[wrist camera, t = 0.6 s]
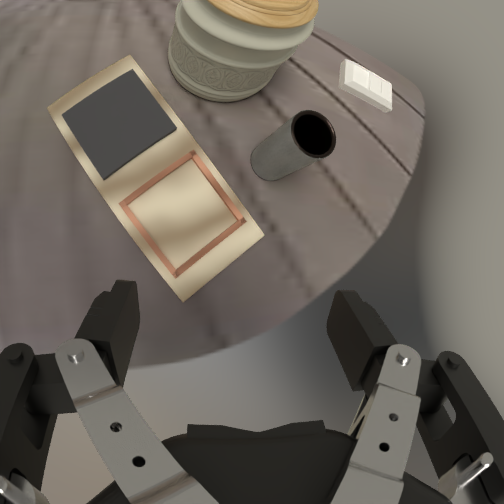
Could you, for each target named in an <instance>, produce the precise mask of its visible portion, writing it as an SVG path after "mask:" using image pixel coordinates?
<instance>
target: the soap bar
mask: <svg viewBox="0 0 504 504" xmlns="http://www.w3.org/2000/svg"><path fill="white" fill-rule="evenodd" d="M339 88H340V89H342V90H344V91H346V92H348V93H350V94H352V95H354V96H356V97H358V98H360V99H362V100H363V101H365V102H367V103H369V104H371V105H373V106H374V107H376V108H378V109H380V110H381V111H383V112H385V113H387V112H389V111H391V110H392V85H391V83H389V82H387V81H386V80H384V79H383V78H381V77H379V76H378V75H376V74H374V73H373V72H371V71H369V70H367V69H366V68H364V67H362V66H360V65H359V64H357V63H355V62H353V61H350V60H347V59H345V60H344V61H343V62H342V63H341V65H340V78H339Z"/></svg>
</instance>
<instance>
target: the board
mask: <svg viewBox="0 0 504 504" xmlns="http://www.w3.org/2000/svg"><path fill="white" fill-rule="evenodd" d="M131 69H133V70H134V71H135V73H136V74H137V75H138V77H139V78H140V79H141V80H142V82H143V83H144V84H145V86H146V87H147V88H148V90H149V91H150V92H151V94H152V95H153V96H154V98H155V99H156V100H157V102H158V103H159V104H160V106H161V107H162V108H163V110H164V111H165V112H166V114H167V115H168V116H169V118H170V119H171V120H172V122H173V123H174V124H175V126H176V127H177V129H176V131H174V132H173V133H171V134H170V135H168V136H167V137H165V138H163V139H162V140H160V141H159V142H157V143H156V144H154V145H153V146H151V147H150V148H148V149H147V150H146V151H144V152H143V153H141V154H140V155H138V156H137V157H136V158H134V159H133V160H131V161H130V162H129V163H127V164H126V165H124V166H123V167H122V168H120V169H119V170H118V171H116V172H115V173H114V174H112V175H111V176H110V177H108V178H107V179H106V180H103V179H102V177H101V176H100V174H99V173H98V171H97V170H96V168H95V167H94V165H93V164H92V162H91V161H90V159H89V158H88V156H87V155H86V153H85V152H84V150H83V149H82V147H81V146H80V144H79V142H78V141H77V139H76V138H75V136H74V135H73V133H72V131H71V130H70V128H69V127H68V125H67V123H66V122H65V120H64V118H63V117H62V114H63V113H64V112H66V111H67V110H68V109H70V108H71V107H73V106H74V105H75V104H77V103H78V102H80V101H81V100H83V99H84V98H86V97H87V96H89V95H90V94H92V93H93V92H95V91H96V90H98V89H99V88H101V87H103V86H104V85H106V84H107V83H109V82H111V81H112V80H114V79H116V78H117V77H119V76H121V75H122V74H124V73H126V72H128V71H129V70H131ZM47 109H48V111H49V113H50V115H51V116H52V118H53V120H54V122H55V123H56V125H57V127H58V128H59V130H60V132H61V133H62V135H63V137H64V138H65V140H66V141H67V143H68V145H69V146H70V148H71V149H72V151H73V153H74V154H75V156H76V157H77V159H78V161H79V162H80V164H81V165H82V167H83V168H84V170H85V171H86V173H87V174H88V176H89V177H90V179H91V180H92V182H93V183H94V185H95V186H96V188H97V189H98V191H99V192H100V194H101V195H102V197H103V198H104V199H105V201H106V202H107V204H108V205H109V207H110V208H111V209H112V211H113V212H114V214H115V215H116V216H117V218H118V219H119V221H120V222H121V223H122V225H123V226H124V227H125V229H126V230H127V232H128V233H129V234H130V236H131V237H132V238H133V240H134V241H135V242H136V244H137V245H138V246H139V248H140V249H141V250H142V252H143V253H144V254H145V256H146V257H147V258H148V259H149V261H150V262H151V263H152V265H153V266H154V267H155V268H156V270H157V271H158V272H159V273H160V275H161V276H162V277H163V278H164V280H165V281H166V282H167V283H168V285H169V286H170V287H171V288H172V290H173V291H174V292H175V293H176V295H177V296H178V297H179V298H180V299H181V301H182V302H184V301H185V300H187V299H188V298H189V297H190V296H192V295H193V294H194V293H195V292H196V291H198V290H199V289H200V288H201V287H202V286H204V285H205V284H206V283H207V282H208V281H210V280H211V279H212V278H213V277H215V276H216V275H217V274H218V273H219V272H221V271H222V270H223V269H224V268H225V267H227V266H228V265H229V264H230V263H232V262H233V261H234V260H235V259H236V258H238V257H239V256H240V255H241V254H242V253H244V252H245V251H246V250H247V249H249V248H250V247H251V246H252V245H253V244H255V243H256V242H257V241H258V240H259V239H261V238H262V237H263V236H264V234H263V232H262V231H261V229H260V228H259V227H258V225H257V224H256V222H255V221H254V220H253V218H252V217H251V216H250V214H249V213H248V211H247V210H246V209H245V207H244V206H243V205H242V203H241V202H240V200H239V199H238V198H237V196H236V195H235V194H234V192H233V191H232V189H231V188H230V187H229V185H228V184H227V183H226V181H225V180H224V179H223V177H222V176H221V174H220V173H219V172H218V170H217V169H216V168H215V166H214V165H213V164H212V162H211V161H210V160H209V158H208V157H207V155H206V154H205V153H204V151H203V150H202V149H201V147H200V146H199V145H198V143H197V142H196V141H195V139H194V138H193V137H192V135H191V134H190V133H189V131H188V130H187V129H186V127H185V126H184V125H183V123H182V122H181V121H180V119H179V118H178V117H177V115H176V114H175V113H174V111H173V110H172V109H171V107H170V106H169V105H168V104H167V102H166V101H165V100H164V98H163V97H162V96H161V94H160V93H159V92H158V90H157V89H156V88H155V87H154V85H153V84H152V83H151V81H150V80H149V79H148V77H147V76H146V75H145V74H144V72H143V71H142V70H141V68H140V67H139V66H138V64H137V63H136V62H135V61H134V59H133V58H132V57H131V55H128V56H126V57H125V58H123V59H121V60H119V61H117V62H116V63H114V64H112V65H110V66H109V67H107V68H105V69H104V70H102V71H100V72H99V73H97V74H95V75H94V76H92V77H91V78H89V79H87V80H86V81H84V82H83V83H81V84H80V85H78V86H77V87H75V88H74V89H72V90H71V91H69V92H68V93H66V94H65V95H64V96H62V97H61V98H59V99H58V100H57V101H55V102H54V103H53V104H51V105H50V106H49V107H47Z"/></svg>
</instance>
